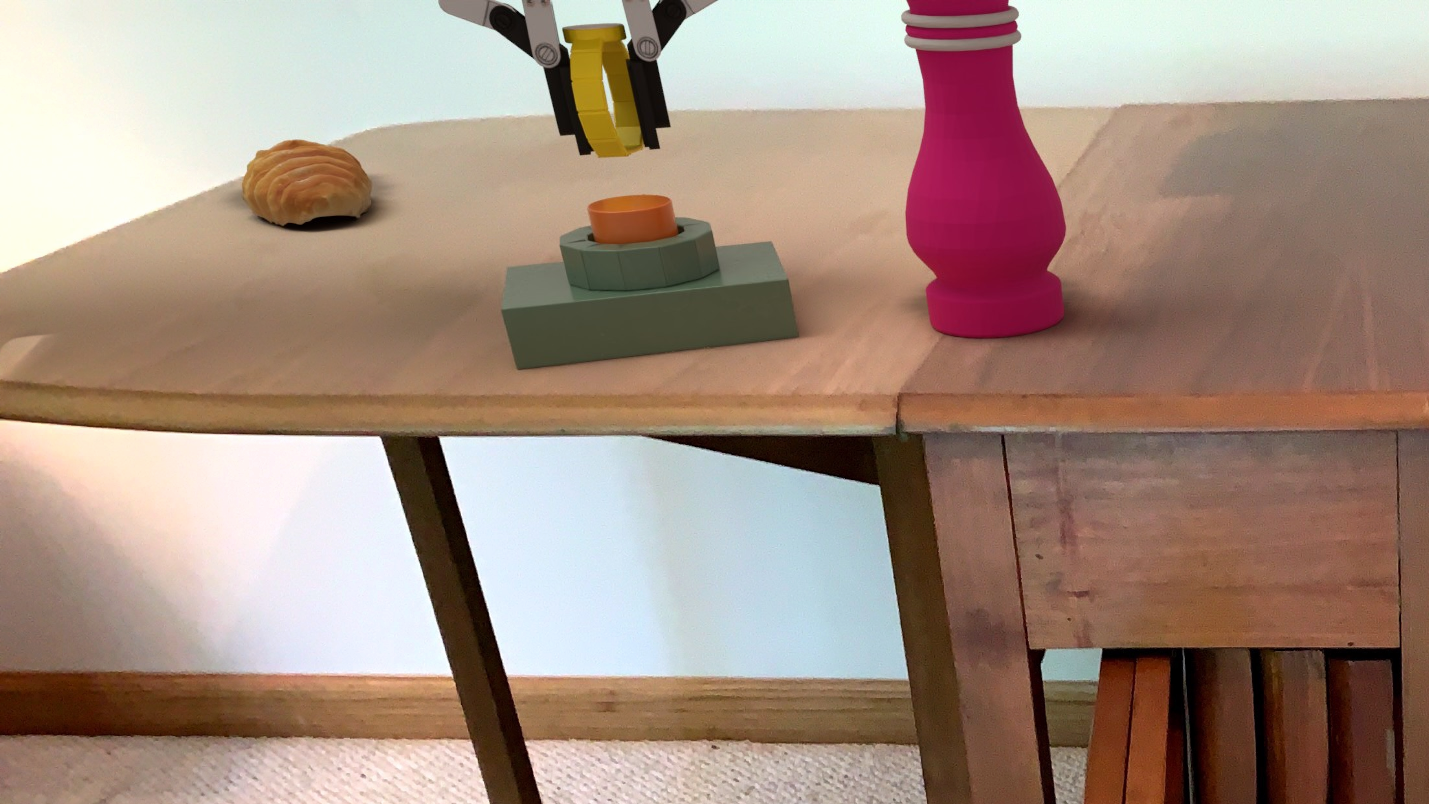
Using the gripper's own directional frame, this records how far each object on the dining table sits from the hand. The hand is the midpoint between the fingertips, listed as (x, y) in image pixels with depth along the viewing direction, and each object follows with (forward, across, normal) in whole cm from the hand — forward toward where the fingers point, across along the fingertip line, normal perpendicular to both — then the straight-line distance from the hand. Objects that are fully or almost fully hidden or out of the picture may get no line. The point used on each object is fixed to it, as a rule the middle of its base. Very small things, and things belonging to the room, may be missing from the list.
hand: (619, 144), depth 84 cm
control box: (+7, 0, -10) cm, 12 cm away
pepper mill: (+7, +15, -14) cm, 22 cm away
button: (+3, 0, -10) cm, 10 cm away
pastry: (+7, -18, +26) cm, 33 cm away
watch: (+1, 0, 0) cm, 1 cm away
